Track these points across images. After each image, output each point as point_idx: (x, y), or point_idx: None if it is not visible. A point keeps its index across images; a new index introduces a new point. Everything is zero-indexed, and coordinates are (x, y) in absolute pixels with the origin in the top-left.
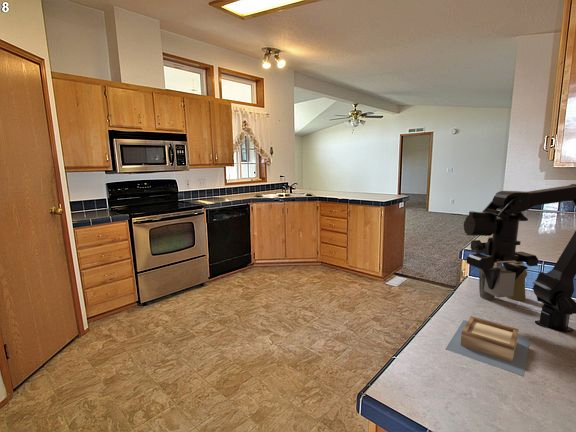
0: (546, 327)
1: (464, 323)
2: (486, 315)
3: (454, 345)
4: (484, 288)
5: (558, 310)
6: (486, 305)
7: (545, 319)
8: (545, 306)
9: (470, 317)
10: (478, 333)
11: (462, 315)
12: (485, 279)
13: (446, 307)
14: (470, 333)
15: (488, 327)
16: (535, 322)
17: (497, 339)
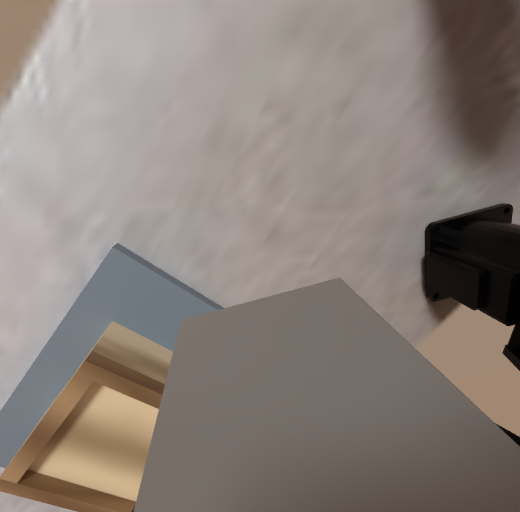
0: (426, 276)
1: (104, 280)
2: (270, 160)
3: (9, 434)
4: (178, 340)
5: (511, 357)
6: (348, 18)
7: (448, 285)
8: (515, 285)
9: (76, 374)
10: (79, 457)
11: (142, 164)
12: (157, 438)
13: (76, 46)
14: (27, 494)
15: (144, 411)
16: (427, 230)
17: (137, 478)
